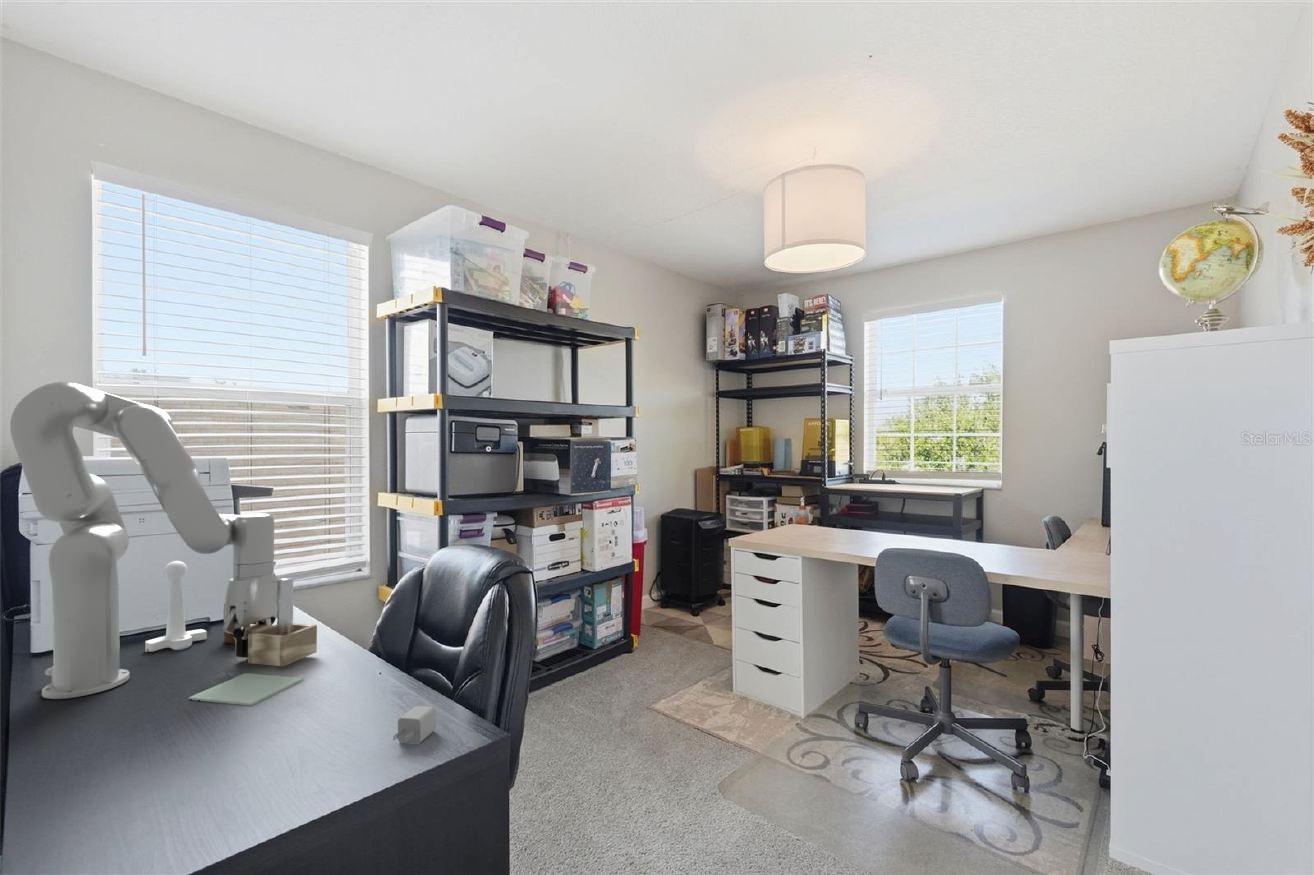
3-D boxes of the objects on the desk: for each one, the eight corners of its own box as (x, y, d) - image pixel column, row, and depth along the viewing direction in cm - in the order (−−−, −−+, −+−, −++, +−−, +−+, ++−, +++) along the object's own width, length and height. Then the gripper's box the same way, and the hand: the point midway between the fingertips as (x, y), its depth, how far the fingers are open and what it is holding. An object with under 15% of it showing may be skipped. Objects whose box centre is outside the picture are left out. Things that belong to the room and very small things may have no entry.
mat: (188, 699, 112) (188, 697, 112) (245, 675, 124) (245, 673, 124) (250, 705, 109) (250, 703, 109) (303, 680, 121) (303, 678, 121)
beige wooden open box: (224, 660, 129) (225, 632, 129) (260, 647, 138) (261, 620, 138) (283, 666, 126) (283, 637, 126) (316, 652, 135) (316, 625, 135)
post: (274, 664, 130) (273, 580, 130) (285, 659, 133) (284, 577, 133) (285, 664, 130) (285, 581, 130) (296, 659, 133) (296, 578, 133)
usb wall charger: (435, 731, 99) (435, 707, 99) (411, 753, 92) (411, 727, 92) (413, 730, 99) (413, 705, 100) (387, 751, 93) (387, 725, 93)
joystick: (200, 637, 149) (199, 556, 150) (212, 642, 145) (212, 559, 145) (143, 650, 140) (142, 564, 140) (154, 656, 136) (154, 567, 136)
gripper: (271, 562, 142) (270, 640, 142) (203, 577, 126) (202, 665, 126) (298, 563, 141) (297, 642, 140) (233, 578, 124) (232, 668, 124)
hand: (252, 652), depth 133 cm, fingers closed on beige wooden open box, 4 cm apart
